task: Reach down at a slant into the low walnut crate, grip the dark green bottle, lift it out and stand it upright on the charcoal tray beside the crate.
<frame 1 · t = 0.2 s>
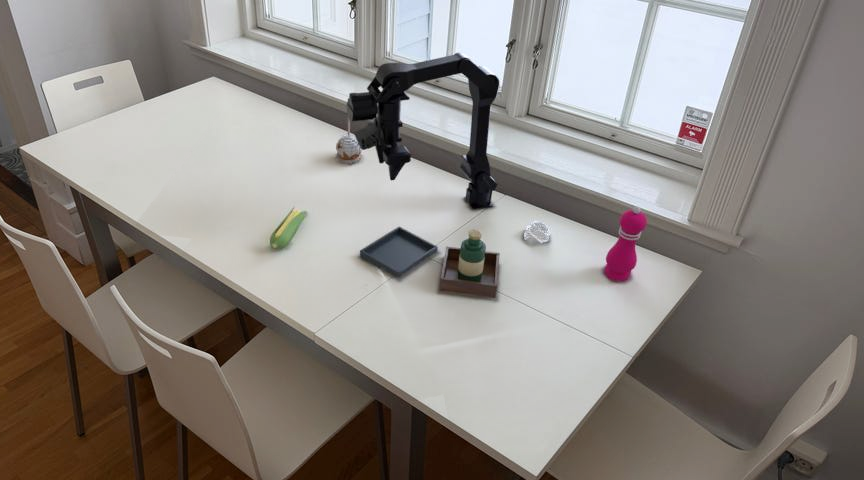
hand: (386, 171, 175), 15 cm above the table, tool pointing down, fingers open, 9 cm apart
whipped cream: (536, 237, 179), on the table
pepper mill: (616, 274, 167), on the table
bottle: (469, 276, 163), point 1 cm above the table, touching crate
crate: (469, 278, 164), on the table
edible corn: (290, 233, 177), on the table
tray: (398, 255, 171), on the table
decorative ornament: (349, 159, 210), on the table
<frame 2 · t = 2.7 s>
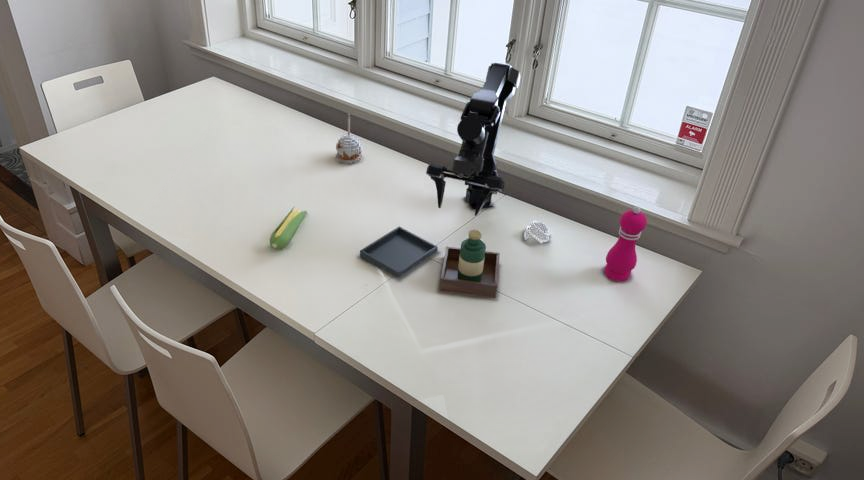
hand: (457, 212, 162), 14 cm above the table, tool tilted 35°, fingers open, 9 cm apart
nothing on the table moved.
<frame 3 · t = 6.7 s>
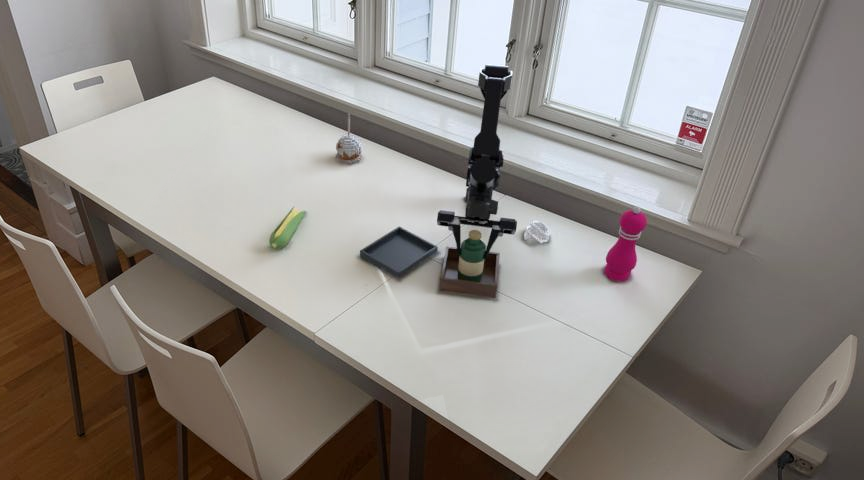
hand: (471, 257, 158), 7 cm above the table, tool tilted 45°, fingers closed on bottle, 6 cm apart
bottle: (469, 276, 163), point 1 cm above the table, touching crate, gripper
everything else where it was.
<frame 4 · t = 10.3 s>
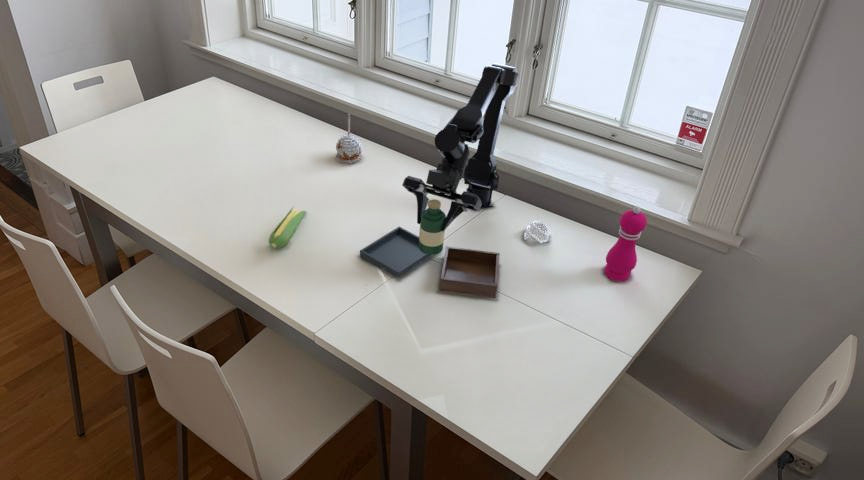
hand: (430, 227, 157), 13 cm above the table, tool tilted 45°, fingers closed on bottle, 6 cm apart
bottle: (430, 247, 162), point 6 cm above the table, touching gripper
everything else where it was.
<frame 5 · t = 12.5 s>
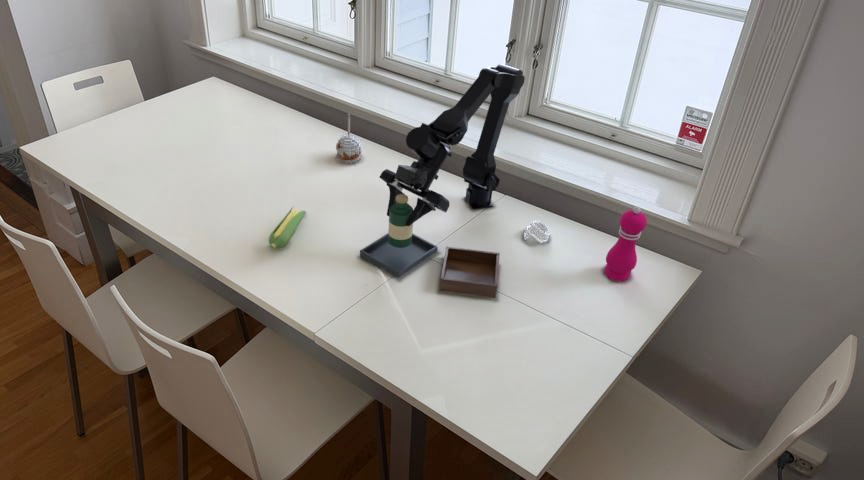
hand: (397, 220, 163), 11 cm above the table, tool tilted 45°, fingers closed on bottle, 6 cm apart
bottle: (400, 241, 168), point 4 cm above the table, touching gripper
everything else where it was.
when the fingers open (8 cm above the table, at t = 14.1 s): bottle stays where it is, resting on tray.
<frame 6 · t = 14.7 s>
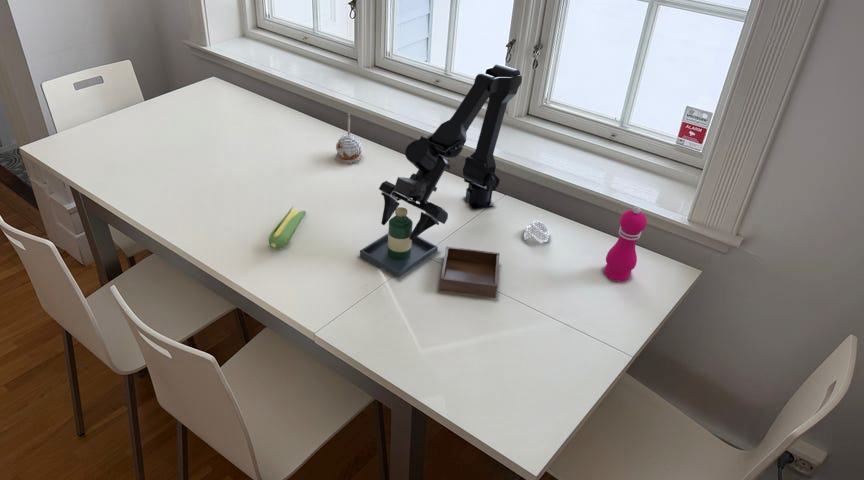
hand: (396, 232, 165), 8 cm above the table, tool tilted 45°, fingers open, 9 cm apart
bottle: (399, 253, 170), point 1 cm above the table, touching tray
everything else where it was.
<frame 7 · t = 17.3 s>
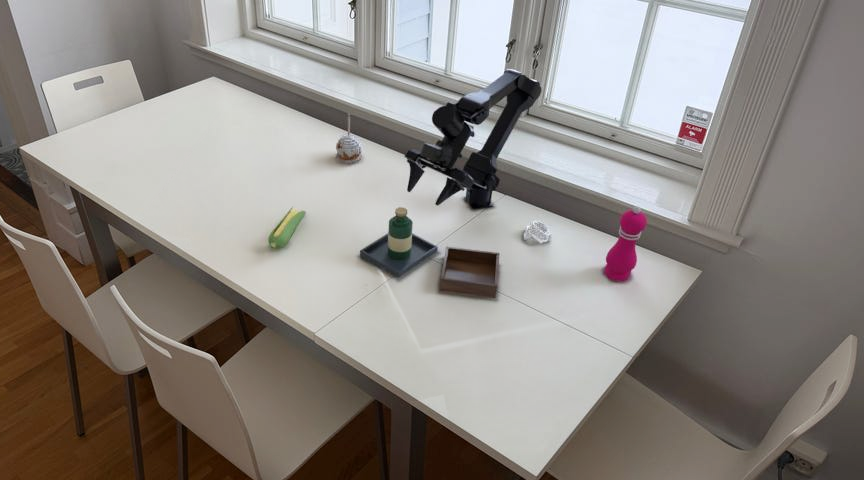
hand: (422, 198, 167), 14 cm above the table, tool tilted 45°, fingers open, 9 cm apart
nothing on the table moved.
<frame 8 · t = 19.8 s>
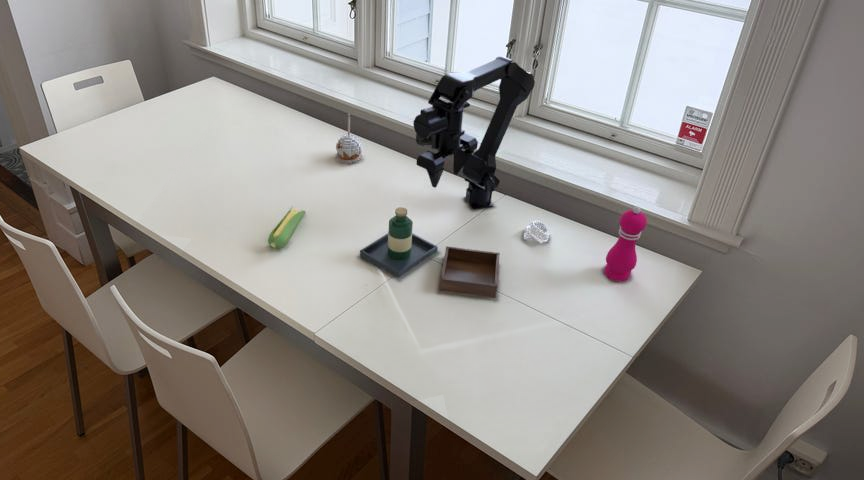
hand: (445, 180, 175), 13 cm above the table, tool pointing down, fingers open, 9 cm apart
nothing on the table moved.
at the end: bottle inside the target area in the tray (0.1 cm from its centre), point 0.6 cm above the tray's base; bottle tilted 0°; the gripper is holding nothing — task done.
